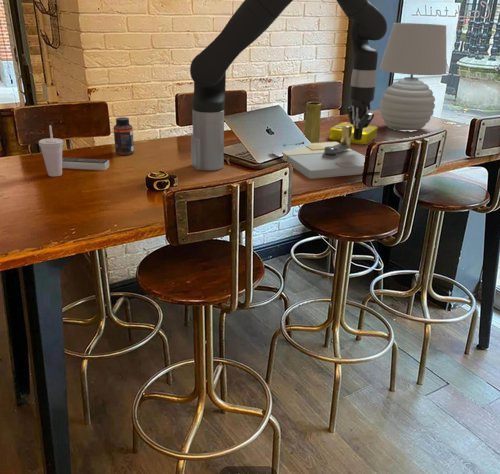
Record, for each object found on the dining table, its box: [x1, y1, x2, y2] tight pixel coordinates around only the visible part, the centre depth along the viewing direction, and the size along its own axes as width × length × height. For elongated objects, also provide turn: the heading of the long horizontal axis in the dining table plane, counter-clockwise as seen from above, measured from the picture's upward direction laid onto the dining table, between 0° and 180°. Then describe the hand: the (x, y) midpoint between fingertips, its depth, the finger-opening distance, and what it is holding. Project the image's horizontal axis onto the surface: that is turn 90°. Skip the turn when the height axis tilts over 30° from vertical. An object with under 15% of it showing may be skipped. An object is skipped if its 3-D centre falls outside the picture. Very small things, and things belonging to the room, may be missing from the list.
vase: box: [303, 101, 323, 143], centre depth 186 cm, size 6×6×14 cm
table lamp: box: [379, 22, 447, 131], centre depth 205 cm, size 25×25×40 cm
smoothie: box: [38, 124, 64, 177], centre depth 144 cm, size 6×6×14 cm
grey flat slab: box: [282, 141, 365, 180], centre depth 166 cm, size 24×28×3 cm
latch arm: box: [324, 125, 352, 156], centre depth 166 cm, size 14×4×7 cm, turn 144°
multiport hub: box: [62, 157, 110, 171], centre depth 155 cm, size 4×14×2 cm, turn 86°
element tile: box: [328, 121, 379, 145], centre depth 197 cm, size 15×15×5 cm
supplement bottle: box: [113, 116, 135, 156], centre depth 167 cm, size 6×6×11 cm
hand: (357, 139), depth 168 cm, fingers closed
